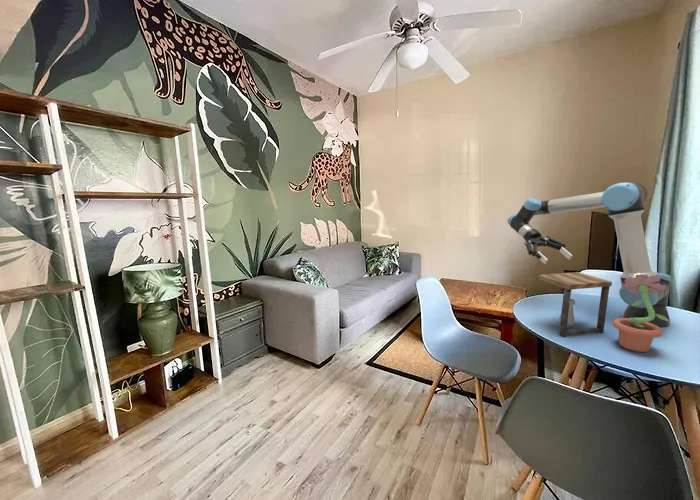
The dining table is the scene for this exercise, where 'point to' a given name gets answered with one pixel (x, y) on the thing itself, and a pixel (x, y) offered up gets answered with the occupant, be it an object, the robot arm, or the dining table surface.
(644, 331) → the decorative flower
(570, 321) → the salt shaker
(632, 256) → the robot arm
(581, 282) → the wooden side table
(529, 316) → the dining table surface
